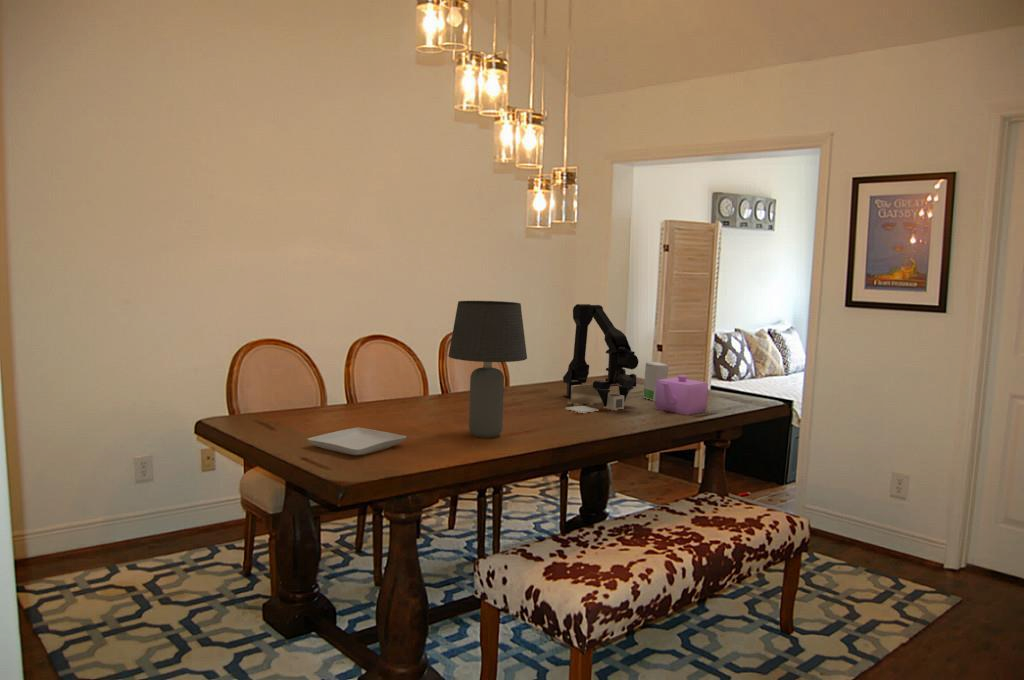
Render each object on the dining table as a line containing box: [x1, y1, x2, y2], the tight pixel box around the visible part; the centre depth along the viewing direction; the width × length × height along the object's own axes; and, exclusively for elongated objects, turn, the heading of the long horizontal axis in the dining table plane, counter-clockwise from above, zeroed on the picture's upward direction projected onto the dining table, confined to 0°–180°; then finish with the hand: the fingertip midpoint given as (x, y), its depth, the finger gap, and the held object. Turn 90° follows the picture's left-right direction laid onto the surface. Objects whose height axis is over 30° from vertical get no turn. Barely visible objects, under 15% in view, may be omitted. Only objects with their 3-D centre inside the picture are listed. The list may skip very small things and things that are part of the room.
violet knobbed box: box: [654, 374, 709, 416], centre depth 299 cm, size 15×25×14 cm, turn 133°
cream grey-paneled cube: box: [603, 393, 625, 411], centre depth 298 cm, size 6×6×6 cm
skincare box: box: [642, 361, 669, 402], centre depth 322 cm, size 8×7×16 cm
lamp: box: [447, 300, 528, 439], centre depth 243 cm, size 25×25×43 cm
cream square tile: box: [565, 405, 600, 414], centre depth 293 cm, size 9×9×1 cm
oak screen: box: [567, 383, 603, 407], centre depth 306 cm, size 5×16×8 cm, turn 127°
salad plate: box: [306, 427, 407, 456], centre depth 225 cm, size 21×21×3 cm
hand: (613, 405), depth 299 cm, fingers open, 9 cm apart
